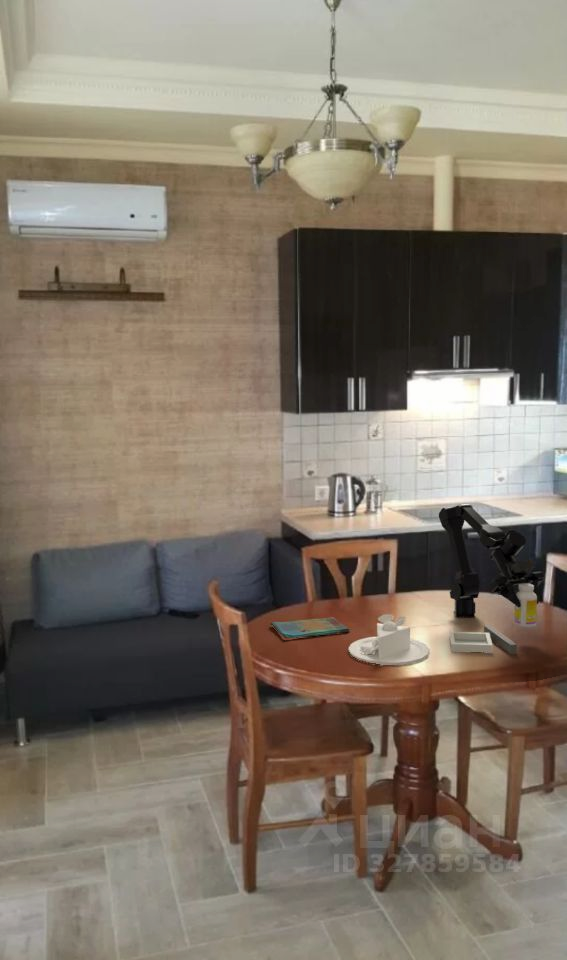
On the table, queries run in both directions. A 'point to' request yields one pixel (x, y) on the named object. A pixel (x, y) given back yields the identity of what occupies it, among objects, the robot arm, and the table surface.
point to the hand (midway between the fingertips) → (528, 605)
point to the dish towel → (310, 627)
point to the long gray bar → (501, 640)
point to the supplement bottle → (526, 606)
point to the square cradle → (470, 642)
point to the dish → (390, 645)
